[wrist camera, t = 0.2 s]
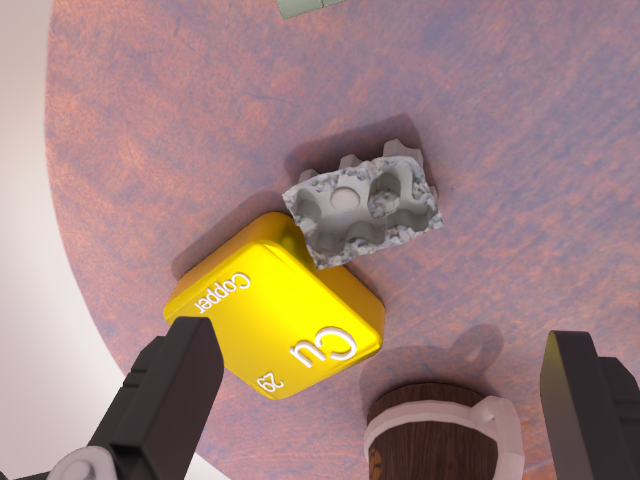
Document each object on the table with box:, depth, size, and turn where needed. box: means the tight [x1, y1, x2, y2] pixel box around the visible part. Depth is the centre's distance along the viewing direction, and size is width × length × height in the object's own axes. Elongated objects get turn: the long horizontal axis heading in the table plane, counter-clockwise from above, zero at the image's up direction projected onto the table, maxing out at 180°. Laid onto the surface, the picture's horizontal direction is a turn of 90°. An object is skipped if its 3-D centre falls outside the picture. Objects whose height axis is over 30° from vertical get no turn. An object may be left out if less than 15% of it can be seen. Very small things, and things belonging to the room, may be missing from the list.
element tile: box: [163, 212, 386, 400], centre depth 46 cm, size 15×15×5 cm
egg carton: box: [282, 139, 444, 270], centre depth 38 cm, size 11×8×4 cm
